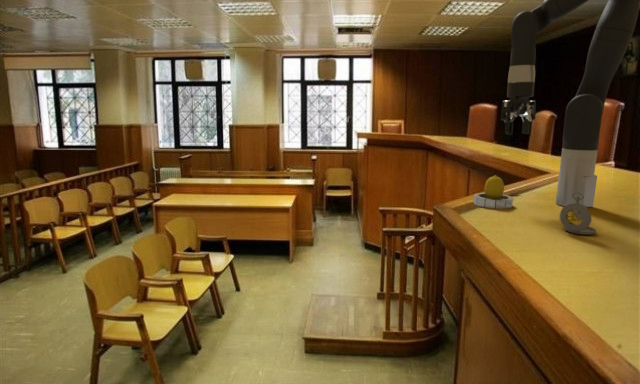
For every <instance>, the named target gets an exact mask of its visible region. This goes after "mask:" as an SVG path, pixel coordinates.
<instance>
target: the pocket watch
mask: <svg viewBox="0 0 640 384" xmlns="http://www.w3.org/2000/svg"><path fill="white" fill-rule="evenodd" d="M574 194H580V193H573V194H572V197H573V198H574V196H573V195H574ZM580 195H581V196H582V199H583V198H584V196H583V195H582V194H580ZM574 199H575V200H576V203H570V204H567V205H566V206H563V207H562V209H561V210H560V212H559V213H560V214H559V219H560V222H561V224H562V225H563V226H564V227H563V228H564V230H565V231H566V232H569V233H573V234H577V235H585V236H586V235H594V234H596V233H597V229H596V228H595V227H590V224H591V222H592V214H591V211H590V210H589V207H586V206H584V205H582V204H580V203H579V201H580V200H582V199H580V198H579V196H577V198H574ZM576 222H577V224H575V223H576Z"/></svg>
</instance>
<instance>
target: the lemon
mask: <svg viewBox="0 0 640 384" xmlns="http://www.w3.org/2000/svg"><path fill="white" fill-rule="evenodd" d="M483 190H484V193H485V194H486V196H487V197H488V198H490V199H498V198H500V197H501V196H502V195H504V192H505V184H504V181H503V179H502V178H501V177H499V176H498V175H493V176H490V177H488V179H486V181H485V184H484V189H483Z"/></svg>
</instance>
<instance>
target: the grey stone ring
mask: <svg viewBox="0 0 640 384" xmlns="http://www.w3.org/2000/svg"><path fill="white" fill-rule="evenodd" d="M473 203H474V204H473ZM472 204H473V205H475V206H477V207H481V208H486V209H487V208H489V209H493V210H494V209H496V210H497V209H501V210H502V209H504V210H505V209H511V208H512V207H513V204H514V197H513V196H510V195H507V194H503V195H502V196H501V197H500V198H498V199H490V198H488V197H487V196H486V194H485V192H480V193H474V195H473V201H472Z"/></svg>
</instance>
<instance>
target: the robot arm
mask: <svg viewBox="0 0 640 384" xmlns="http://www.w3.org/2000/svg"><path fill="white" fill-rule="evenodd" d="M588 1H589V0H543V1H542V3H541V4H540V5H539V6H538V5H537V7H535V8H534V9H532V10H530V11H529V10H524V11H521V12H519V13H518V14H516V15H515V17H513V20H512V24H511V51H510V61H509V62H510V63H509V69H508V70H509V71H508V77H507V88H506V89H507V91H506V97H507V98H509V100H502V102H501V111H500V120H501V121H503V122H504V123H505V125H504V135H506V136H511V135H512V136H513V132H514V121H515V119H516V118H517V117H518V116H519V117H521V120H522V123H521V134H523V135H529V134H530V129H531V128H530V127H531V122H533V121H534V120H536V115H537V114H536V112H537V101H536V100H530V98H532V97H534V95H535V94H534V93H535V92H534V91H535V81H536V80H535V79H536V59H537V56H536V55H537V53H536V52H537V51H536V50H537V49H536V42H537V41H536V39H537V34H539V33H540V32H542V31H544V30H545V29H546V28H547V27H549V26H550V25H551V24H552V23H554V22H555V21H557V20H559V19H562V17H564V16H566V15H568V14H570V13H571V12H573V11H574V10H576V9H578V8H579V7H581V6H582V5H584V4H586V3H587V2H588ZM639 11H640V0H608V1H607V3H606V5H605V7H604V9H603V11H602V13H601V15H600V18H599V20H598V22H597V24H596V27H595V30H594V33H593V36H592V38H591V41H590V45H589V47H588V52H587V57H586V61H585V62H586V64H585V68H584V73H583V77H582V80H581V83H580V84H579V86H578V89H577V92H576V93H575V96H574V97H573V98H572V99H571V100H570V101H569V102H568V104H567V105H566V109H565V116H564V122H563V123H564V125H563V130H562V132H563V133H562V148H561V157H560V164H559V172H558V181H557V187H556V188H557V189H556V197H555V204H556V205H559V206H563V207H564V206H566V205H567V204H570V203H576V200H575V199H574V198H577V196H579V198H580V199H582V196H581V195H580V194H582V195H583V196H584V198H583V199H582V200H580V201H579V203H580V204H582V205H584V206H586V207H587V208H592V207H594V203H595V202H594V201H595V195H596V189H597V188H596V187H597V182H598V181H597V180H598V175H596V174H595V172H596V166H597V157H598V150H599V143H600V133H601V125H602V117H603V113H604V109H605V103H606V100H607V96H608V93H609V89H610V86H611V83H612V80H613V78H614V76H615V74H616V73H617V70H618V68H619V67H620V65H621V62H622V61H623V58H624V56H625V54H626V52H627V49H628V47H629V45H630V42H631V39H632V37H633V34H634V32H635V29H636V24H637V20H638V16H639ZM573 193H580V194H574V195H573V196H574V198H573V197H572V194H573Z"/></svg>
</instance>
